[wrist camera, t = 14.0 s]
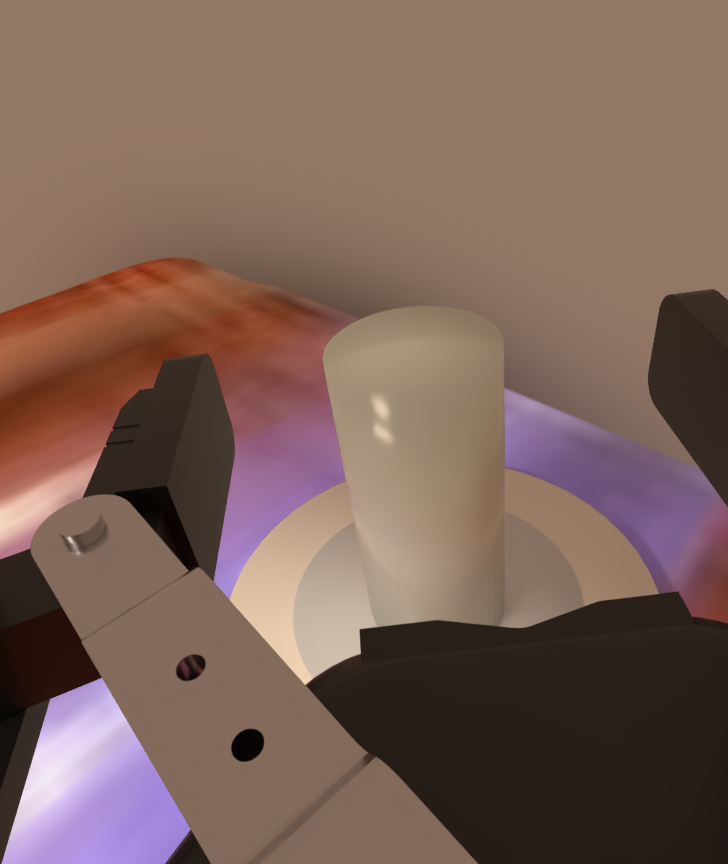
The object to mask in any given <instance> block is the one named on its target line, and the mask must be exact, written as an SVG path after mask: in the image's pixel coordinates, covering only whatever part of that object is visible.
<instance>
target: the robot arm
mask: <svg viewBox="0 0 728 864" xmlns="http://www.w3.org/2000/svg"><path fill="white" fill-rule="evenodd" d="M648 385H649V391H650V395H651V398H652V401H653V403H654V405H655V407H656V408H657V410H658V411H659V412H660V414H661V415H662V416H663V418H664V419H665V420H666V422H667V423H668V425H669V426H670V428H671V429H672V430H673V432H674V433H675V434H676V436H677V437H678V439H679V440H680V441H681V443H682V444H683V445H684V447H685V448H686V450H687V451H688V452H689V454H690V455H691V456H692V458H693V459H694V461H695V462H696V463H697V464H698V466H699V468H700V469H701V470H702V472H703V473H704V475H705V476H706V477H707V479H708V480H709V482H710V483H711V484H712V486H713V487H714V488H715V490H716V491H717V493H718V494H719V495H720V497H721V498H722V500H723V501H724V502H725V504H726V505H727V506H728V300H727V299H726V298H725V297H723V296H722V295H721V294H720V293H719V292H718V291H716V290H714V289H710V290H701V291H694V292H686V293H678V294H671V295H667V296H666V297H665V298H664V299H663V301H662V303H661V306H660V309H659V315H658V320H657V326H656V332H655V337H654V343H653V349H652V355H651V360H650V366H649V373H648ZM106 445H107V447H104V449H103V452H102V454H101V456H100V459H99V461H98V463H97V466H96V468H95V470H94V473H93V475H92V477H91V480H90V482H89V484H88V487H87V489H86V491H85V494H84V496H83V498H82V499H79V500H76V501H74V502H72V503H69V504H67V505H65V506H64V507H62V508H60V509H59V510H57V511H56V512H54V513H53V514H52V515H50V516H49V517H48V518H47V519H46V520H45V521H44V522H43V523H42V524H41V525H40V526H39V528H38V529H37V531H36V532H35V534H34V536H33V538H32V541H31V546H30V547H31V548H30V549H28V550H25V551H23V552H20V553H17V554H14V555H12V556H9V557H6V558H3V559H0V864H1V863H2V860H3V857H4V853H5V850H6V846H7V843H8V840H9V836H10V833H11V830H12V826H13V823H14V819H15V816H16V813H17V809H18V806H19V803H20V799H21V796H22V792H23V789H24V786H25V782H26V779H27V775H28V772H29V769H30V765H31V762H32V759H33V755H34V752H35V748H36V745H37V742H38V738H39V735H40V732H41V728H42V725H43V721H44V718H45V715H46V711H47V708H48V704H49V701H50V699H51V698H54V697H56V696H58V695H61V694H63V693H66V692H68V691H71V690H73V689H76V688H78V687H80V686H83V685H85V684H88V683H90V682H93V681H95V680H97V679H100V678H103V680H104V682H105V684H106V685H107V687H108V689H109V690H110V692H111V694H112V696H113V697H114V699H115V701H116V702H117V704H118V706H119V707H120V709H121V711H122V713H123V714H124V716H125V718H126V719H127V721H128V723H129V725H130V726H131V728H132V730H133V731H134V733H135V735H136V737H137V738H138V740H139V742H140V743H141V745H142V747H143V748H144V750H145V752H146V754H147V755H148V757H149V759H150V760H151V762H152V764H153V766H154V767H155V769H156V771H157V772H158V774H159V776H160V777H161V779H162V781H163V783H164V784H165V786H166V788H167V789H168V791H169V793H170V795H171V796H172V798H173V800H174V801H175V803H176V805H177V807H178V808H179V810H180V812H181V813H182V815H183V817H184V818H185V820H186V822H187V824H188V825H189V827H190V829H191V830H190V831H189V833H188V834H187V835H186V837H185V838H184V839H183V841H182V842H181V843H180V845H179V846H178V847H177V849H176V850H175V851H174V853H173V854H172V855H171V857H170V858H169V859H168V861H167V862H166V863H165V864H728V624H727V623H723V622H719V621H714V620H709V619H704V618H699V617H692V616H691V614H690V612H689V610H688V609H687V607H686V605H685V603H684V601H683V599H682V598H681V596H680V594H679V592H671V593H663V594H654V595H646V596H637V597H629V598H620V599H612V600H603V601H598V602H595V603H592V604H589V605H587V606H584V607H581V608H579V609H576V610H573V611H570V612H568V613H565V614H562V615H559V616H557V617H554V618H551V619H549V620H546V621H543V622H540V623H538V624H535V625H532V626H529V627H525V628H510V627H500V626H491V625H481V624H471V623H461V622H452V621H442V620H432V621H424V622H415V623H407V624H398V625H390V626H381V627H373V628H364V629H359V632H360V650H361V654H358V655H355V656H353V657H350V658H347V659H345V660H343V661H341V662H339V663H337V664H335V665H333V666H331V667H330V668H328V669H327V670H325V671H324V672H322V673H320V674H319V675H317V676H316V677H314V678H313V679H312V680H311V681H310V682H308V683H307V684H306V685H305V684H304V683H303V682H302V681H301V680H300V679H299V677H298V676H297V675H296V674H295V673H294V672H293V671H292V670H291V668H290V667H289V666H288V665H287V664H286V663H285V662H284V661H283V659H282V658H281V657H280V656H279V655H278V654H277V653H276V652H275V650H274V649H273V648H272V647H271V646H270V645H269V644H268V643H267V641H266V640H265V639H264V638H263V637H262V636H261V635H260V634H259V632H258V631H257V630H256V629H255V628H254V627H253V626H252V625H251V624H250V622H249V621H248V620H247V619H246V618H245V617H244V616H243V615H242V613H241V612H240V611H239V610H238V609H237V608H236V607H235V606H234V604H233V603H232V602H231V601H230V600H229V599H228V598H227V597H226V595H225V594H224V593H223V592H222V591H221V590H220V589H219V588H218V586H217V585H216V584H215V583H214V582H213V581H214V575H215V569H216V563H217V557H218V551H219V546H220V540H221V534H222V528H223V522H224V516H225V510H226V504H227V498H228V492H229V486H230V480H231V474H232V468H233V462H234V455H235V445H234V435H233V429H232V425H231V421H230V418H229V415H228V411H227V408H226V405H225V401H224V398H223V395H222V391H221V388H220V385H219V381H218V378H217V375H216V371H215V368H214V365H213V362H212V360H211V358H210V356H209V355H208V354H201V355H193V356H185V357H177V358H170V359H165V360H164V362H163V364H162V367H161V369H160V372H159V375H158V377H157V380H156V383H155V385H154V388H151V389H144V390H139V391H138V392H137V393H136V394H135V395H134V396H133V397H132V398H131V399H130V400H129V401H128V402H127V403H126V404H125V405H124V406H123V407H122V408H121V410H120V412H119V414H118V417H117V419H116V421H115V424H114V426H113V431H111V433H110V435H109V438H108V440H107V442H106Z"/></svg>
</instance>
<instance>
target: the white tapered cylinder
mask: <svg viewBox="0 0 728 864" xmlns="http://www.w3.org/2000/svg"><path fill="white" fill-rule="evenodd" d="M323 366H324V371H325V377H326V382H327V387H328V392H329V397H330V402H331V407H332V412H333V417H334V423H335V428H336V433H337V438H338V443H339V448H340V453H341V458H342V463H343V469H344V474H345V479H346V484H347V489H348V494H349V499H350V504H351V510H352V515H353V520H354V525H355V530H356V535H357V540H358V545H359V550H360V556H361V561H362V566H363V571H364V576H365V581H366V586H367V591H368V596H369V602H370V607H371V612H372V615H373V618H374V621H375V623H376V625H377V627H381V626H390V625H398V624H407V623H415V622H424V621H432V620H442V621H452V622H461V623H471V624H481V625H491V626H498V625H499V623H500V621H501V619H502V617H503V613H504V609H505V441H504V339H503V336H502V333H501V332H500V330H499V328H498V327H497V326H496V325H495V324H494V323H492V322H491V321H490V320H488V319H487V318H484V317H483V316H481V315H479V314H476V313H474V312H471V311H467V310H463V309H459V308H454V307H446V306H411V307H402V308H397V309H391V310H387V311H383V312H379V313H376V314H373V315H370V316H367V317H364V318H362V319H360V320H358V321H355V322H354V323H352V324H350V325H348V326H346V327H345V328H344V329H342V330H341V331H339V332H338V333H337V334H336V335H335V336H334V337H333V338H332V339H331V340H330V341H329V343H328V344H327V346H326V347H325V350H324V352H323Z"/></svg>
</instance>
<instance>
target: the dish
mask: <svg viewBox="0 0 728 864" xmlns="http://www.w3.org/2000/svg"><path fill="white" fill-rule="evenodd" d="M654 594H659V592H658V590H657V587H656V585H655V583H654V580H653V578H652V576H651V574H650V571H649V570H648V568H647V567H646V565H645V563H644V562H643V560H642V559H641V557H640V555H639V554H638V552H637V551H636V549H635V548H634V547H633V546H632V545H631V543H630V542H629V541H628V540H627V538H626V537H625V536H624V535H623V534H622V532H621V531H619V530H618V529H617V528H616V527H615V526H614V525H613V524H612V523H611V522H610V521H609V520H608V519H607V518H606V517H605V516H603V515H602V514H601V513H599V512H598V511H597V510H595V509H594V508H593V507H591V506H590V505H589V504H587V503H586V502H584V501H583V500H581V499H579V498H578V497H576V496H574V495H573V494H571V493H569V492H568V491H566V490H564V489H562V488H560V487H558V486H555V485H553V484H551V483H549V482H547V481H545V480H542V479H539V478H536V477H533V476H531V475H528V474H525V473H522V472H518V471H514V470H510V469H506V468H505V609H504V613H503V617H502V619H501V621H500V623H499V625H498V626H500V627H510V628H525V627H529V626H532V625H535V624H538V623H540V622H543V621H546V620H549V619H551V618H554V617H557V616H559V615H562V614H565V613H568V612H570V611H573V610H576V609H579V608H581V607H584V606H587V605H589V604H592V603H595V602H598V601H603V600H612V599H620V598H629V597H637V596H646V595H654ZM230 601H231V602H232V603H233V604H234V606H235V607H236V608H237V609H238V610H239V611H240V612H241V613H242V615H243V616H244V617H245V618H246V619H247V620H248V621H249V622H250V624H251V625H252V626H253V627H254V628H255V629H256V630H257V631H258V632H259V634H260V635H261V636H262V637H263V638H264V639H265V640H266V641H267V643H268V644H269V645H270V646H271V647H272V648H273V649H274V650H275V652H276V653H277V654H278V655H279V656H280V657H281V658H282V659H283V661H284V662H285V663H286V664H287V665H288V666H289V667H290V668H291V670H292V671H293V672H294V673H295V674H296V675H297V676H298V677H299V679H300V680H301V681H302V682H303V683H304V684H305V685H306V684H307V683H308V682H310V681H311V680H312V679H313V678H314V677H316V676H317V675H319V674H320V673H322V672H324V671H325V670H327V669H328V668H330V667H331V666H333V665H335V664H337V663H339V662H341V661H343V660H345V659H347V658H350V657H353V656H355V655H358V654H361V650H360V632H359V629H364V628H373V627H377V625H376V623H375V621H374V618H373V615H372V612H371V607H370V602H369V596H368V591H367V586H366V581H365V576H364V571H363V566H362V561H361V556H360V550H359V545H358V540H357V535H356V530H355V525H354V520H353V515H352V510H351V504H350V499H349V494H348V489H347V484H346V481H345V482H343V483H341V484H338V485H336V486H334V487H332V488H330V489H328V490H326V491H324V492H322V493H321V494H319V495H317V496H315V497H314V498H312V499H310V500H309V501H307V502H306V503H304V504H303V505H302V506H300V507H299V508H297V509H296V510H294V511H293V512H292V513H291V514H289V515H288V516H287V517H286V518H285V519H284V520H283V521H281V522H280V523H279V524H278V525H277V526H276V527H275V528H274V529H273V530H272V531H271V532H270V533H269V534H268V535H267V536H266V538H265V539H264V540H263V541H262V542H261V543H260V544H259V546H258V547H257V549H256V550H255V551H254V553H253V554H252V555H251V557H250V558H249V560H248V561H247V563H246V565H245V567H244V568H243V570H242V572H241V574H240V576H239V577H238V579H237V582H236V584H235V587H234V589H233V592H232V595H231V597H230Z"/></svg>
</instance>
